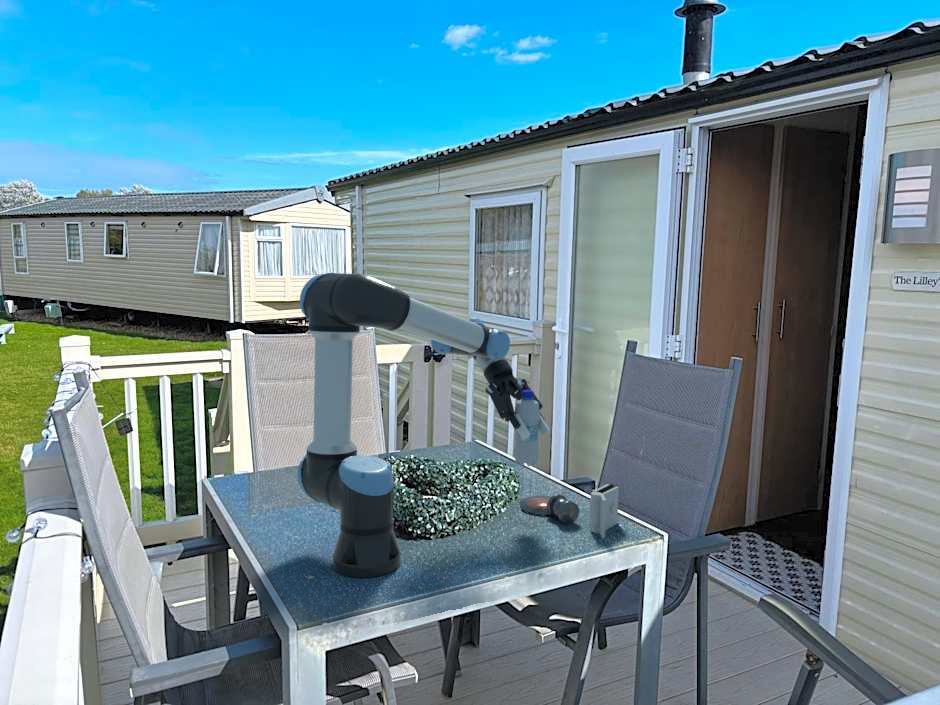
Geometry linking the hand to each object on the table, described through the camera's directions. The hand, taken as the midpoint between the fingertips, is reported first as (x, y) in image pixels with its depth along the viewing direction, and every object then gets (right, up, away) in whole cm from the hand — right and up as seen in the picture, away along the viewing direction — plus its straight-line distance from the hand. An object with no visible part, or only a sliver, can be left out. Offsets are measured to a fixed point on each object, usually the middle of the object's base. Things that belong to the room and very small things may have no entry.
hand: (536, 435), depth 176 cm
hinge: (+17, -24, -2) cm, 30 cm away
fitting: (+5, -22, +11) cm, 25 cm away
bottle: (-2, -8, +4) cm, 9 cm away
